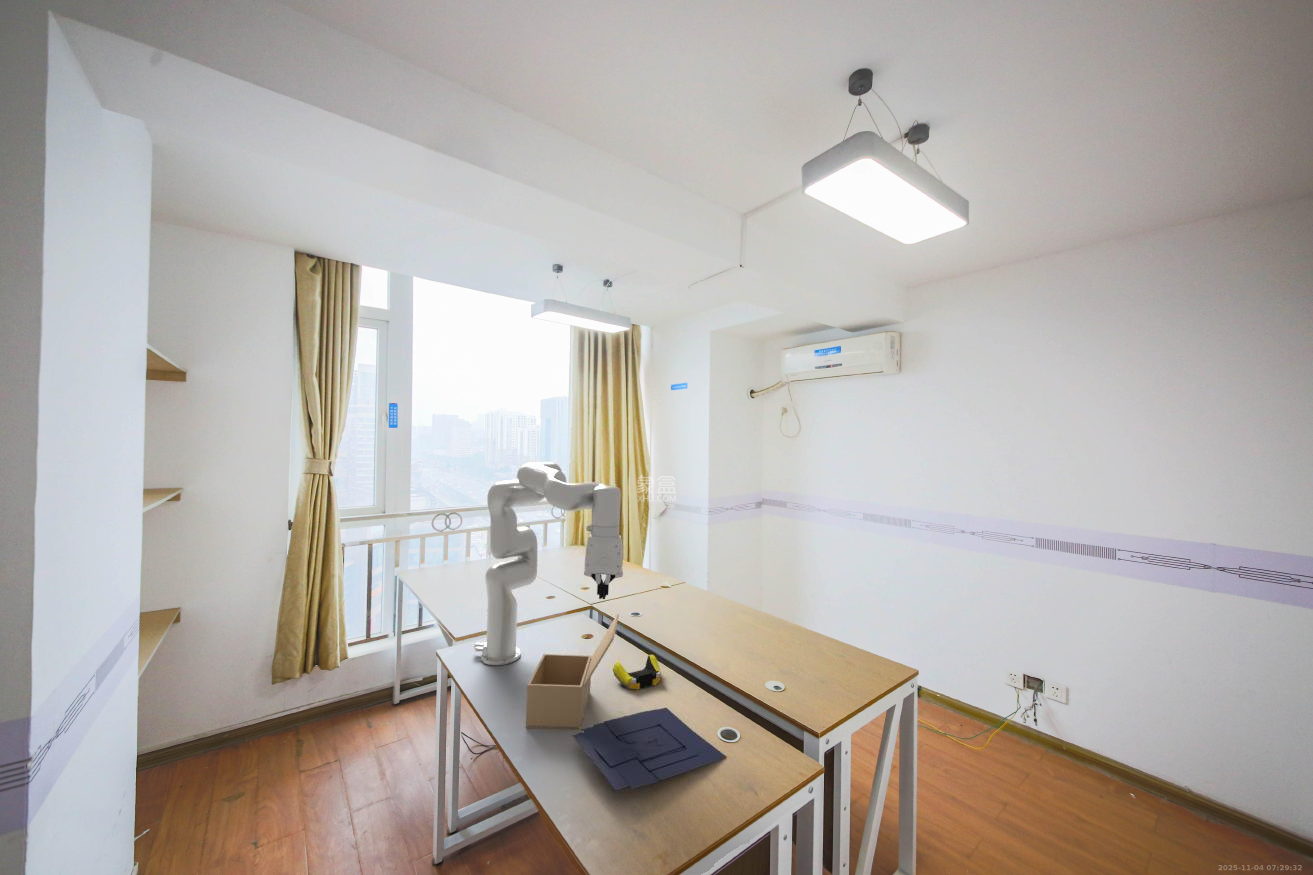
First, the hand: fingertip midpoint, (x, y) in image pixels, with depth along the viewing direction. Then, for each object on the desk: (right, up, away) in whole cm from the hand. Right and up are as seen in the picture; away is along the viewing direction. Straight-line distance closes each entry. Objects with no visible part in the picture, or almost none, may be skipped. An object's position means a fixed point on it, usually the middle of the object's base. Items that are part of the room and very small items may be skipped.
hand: (602, 597), depth 127 cm
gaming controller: (+10, -32, +16) cm, 37 cm away
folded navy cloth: (+12, -32, -16) cm, 38 cm away
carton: (-12, -31, 0) cm, 33 cm away
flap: (0, -14, 0) cm, 14 cm away
